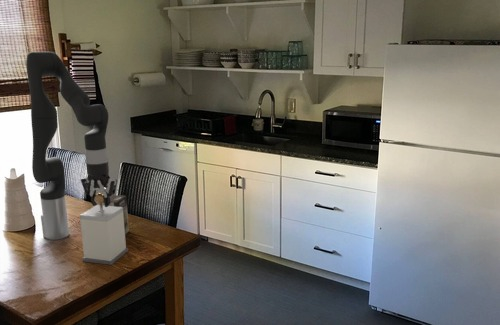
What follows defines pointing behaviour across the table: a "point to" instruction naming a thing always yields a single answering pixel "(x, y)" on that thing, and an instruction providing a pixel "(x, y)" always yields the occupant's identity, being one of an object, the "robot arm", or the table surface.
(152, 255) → the table surface
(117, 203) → the coffee box
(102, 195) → the plunger
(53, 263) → the table surface
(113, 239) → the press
